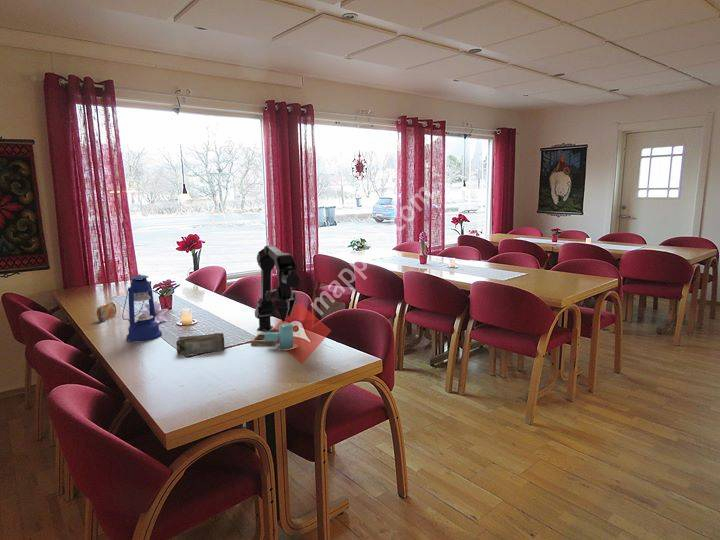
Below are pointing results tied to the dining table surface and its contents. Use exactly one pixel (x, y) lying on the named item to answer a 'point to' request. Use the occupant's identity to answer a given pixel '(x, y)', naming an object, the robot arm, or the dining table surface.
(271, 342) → the holder
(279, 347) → the coaster
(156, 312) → the water lily
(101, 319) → the tin
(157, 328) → the lantern
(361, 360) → the dining table surface
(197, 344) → the grey brown rectangular block
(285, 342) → the jug
